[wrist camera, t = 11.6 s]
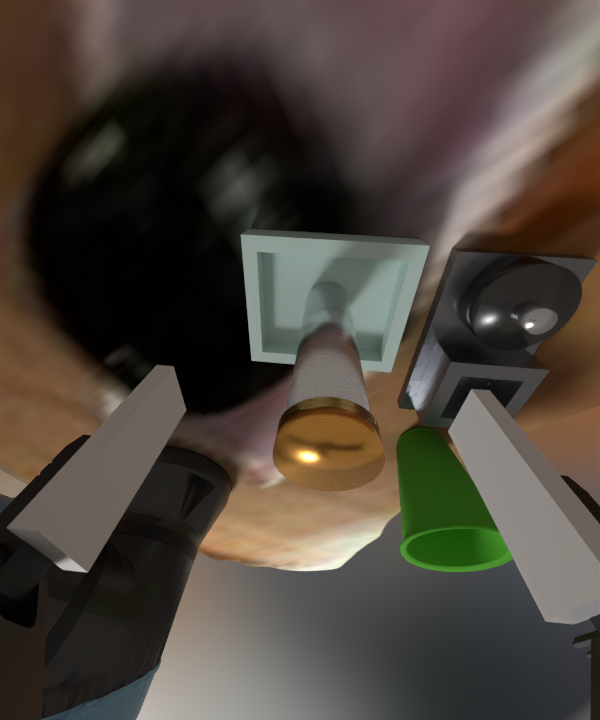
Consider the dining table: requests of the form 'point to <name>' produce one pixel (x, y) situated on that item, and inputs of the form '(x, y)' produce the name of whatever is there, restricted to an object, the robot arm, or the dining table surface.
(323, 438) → the pin
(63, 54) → the dining table surface
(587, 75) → the dining table surface
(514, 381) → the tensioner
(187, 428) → the dining table surface
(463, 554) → the cup
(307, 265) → the tray
